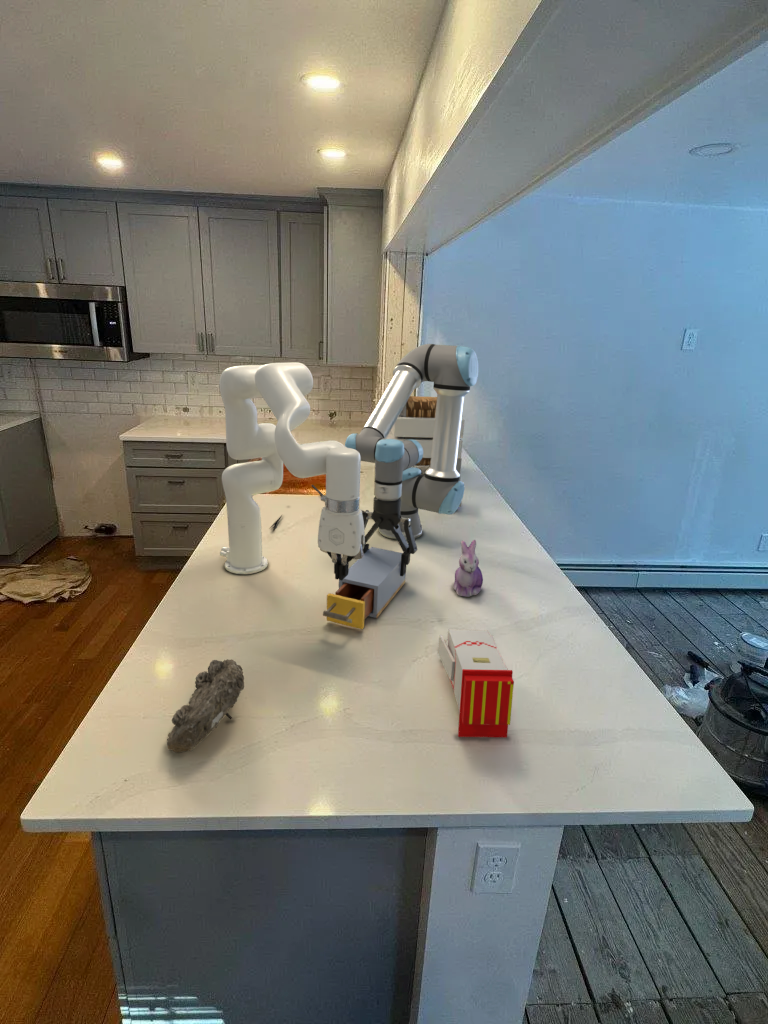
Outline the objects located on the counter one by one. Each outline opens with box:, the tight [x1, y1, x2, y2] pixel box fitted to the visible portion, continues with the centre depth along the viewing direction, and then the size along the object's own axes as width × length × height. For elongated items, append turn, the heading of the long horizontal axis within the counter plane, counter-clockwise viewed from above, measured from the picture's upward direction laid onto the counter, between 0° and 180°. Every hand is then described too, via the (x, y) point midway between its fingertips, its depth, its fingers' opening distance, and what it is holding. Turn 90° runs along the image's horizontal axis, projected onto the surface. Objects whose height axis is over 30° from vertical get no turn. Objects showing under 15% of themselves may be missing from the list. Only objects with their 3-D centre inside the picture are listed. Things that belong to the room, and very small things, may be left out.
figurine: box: [453, 539, 484, 598], centre depth 159 cm, size 9×10×15 cm
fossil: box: [166, 658, 245, 754], centre depth 106 cm, size 22×10×15 cm
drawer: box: [322, 583, 374, 630], centre depth 145 cm, size 26×10×7 cm, turn 159°
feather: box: [268, 514, 283, 532], centre depth 208 cm, size 2×28×2 cm
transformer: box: [386, 395, 465, 481], centre depth 268 cm, size 34×33×41 cm
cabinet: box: [338, 546, 407, 619], centre depth 155 cm, size 22×11×9 cm, turn 159°
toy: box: [437, 628, 515, 738], centre depth 117 cm, size 12×13×30 cm
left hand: (341, 577), depth 133 cm, fingers closed
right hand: (383, 570), depth 161 cm, fingers closed on cabinet, 11 cm apart
